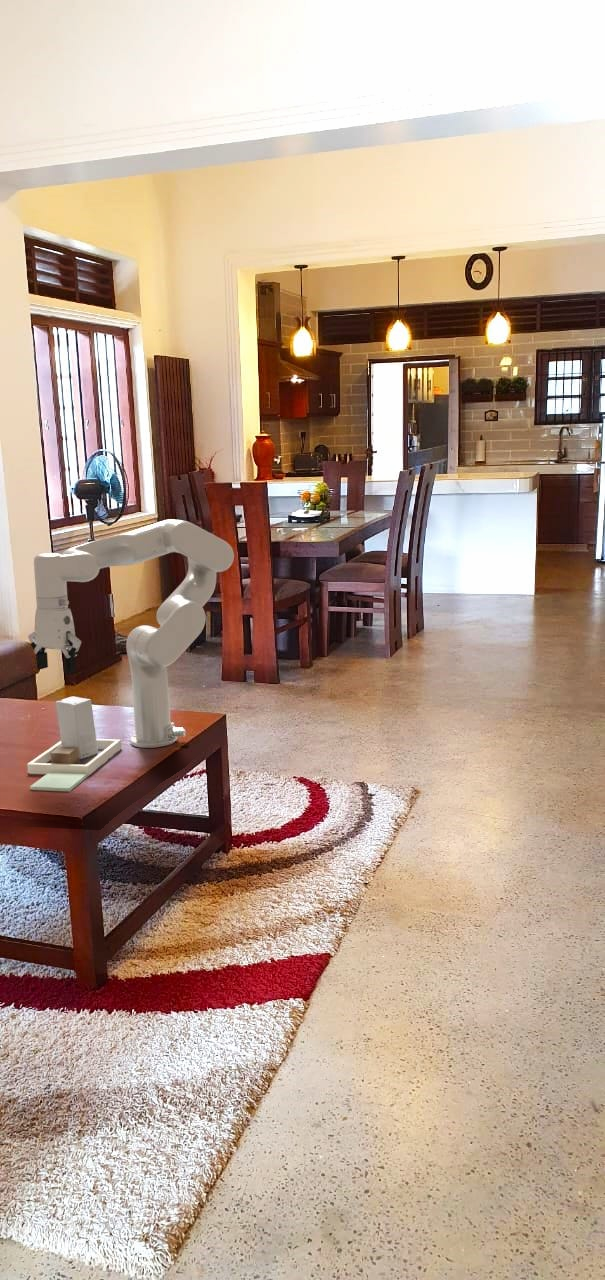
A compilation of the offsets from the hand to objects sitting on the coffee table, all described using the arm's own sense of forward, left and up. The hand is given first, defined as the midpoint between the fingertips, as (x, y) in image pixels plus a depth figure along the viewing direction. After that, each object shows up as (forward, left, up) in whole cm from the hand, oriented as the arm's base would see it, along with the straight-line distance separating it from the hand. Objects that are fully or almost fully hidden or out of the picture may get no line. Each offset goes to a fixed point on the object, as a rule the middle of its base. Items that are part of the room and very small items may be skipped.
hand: (56, 670), depth 241 cm
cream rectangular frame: (-3, 0, -24) cm, 24 cm away
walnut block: (-3, +6, -24) cm, 25 cm away
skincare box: (-2, -5, -24) cm, 25 cm away
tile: (-6, +16, -24) cm, 29 cm away
